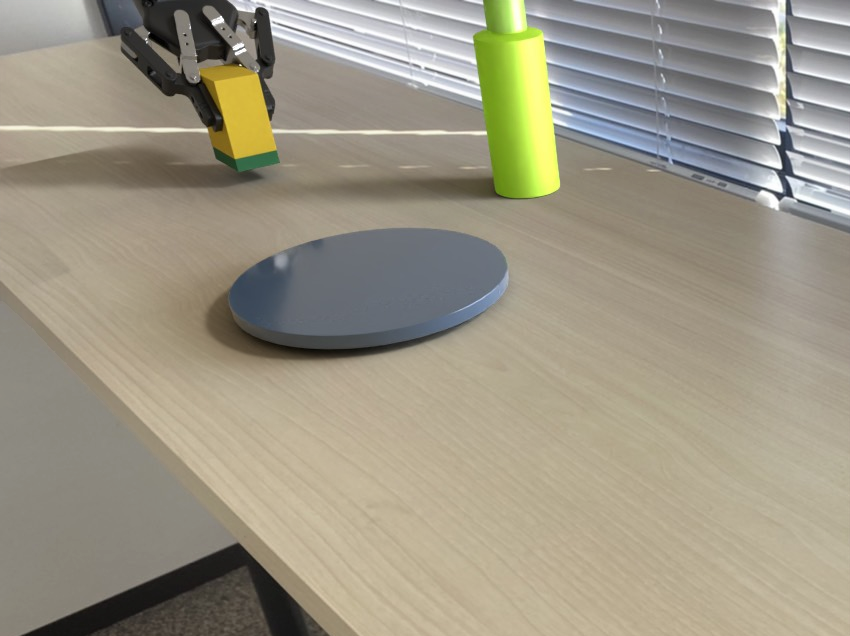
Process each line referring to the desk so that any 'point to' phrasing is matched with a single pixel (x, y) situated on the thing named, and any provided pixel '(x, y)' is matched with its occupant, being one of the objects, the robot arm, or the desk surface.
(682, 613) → the desk surface
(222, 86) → the sponge
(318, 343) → the plate
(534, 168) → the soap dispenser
